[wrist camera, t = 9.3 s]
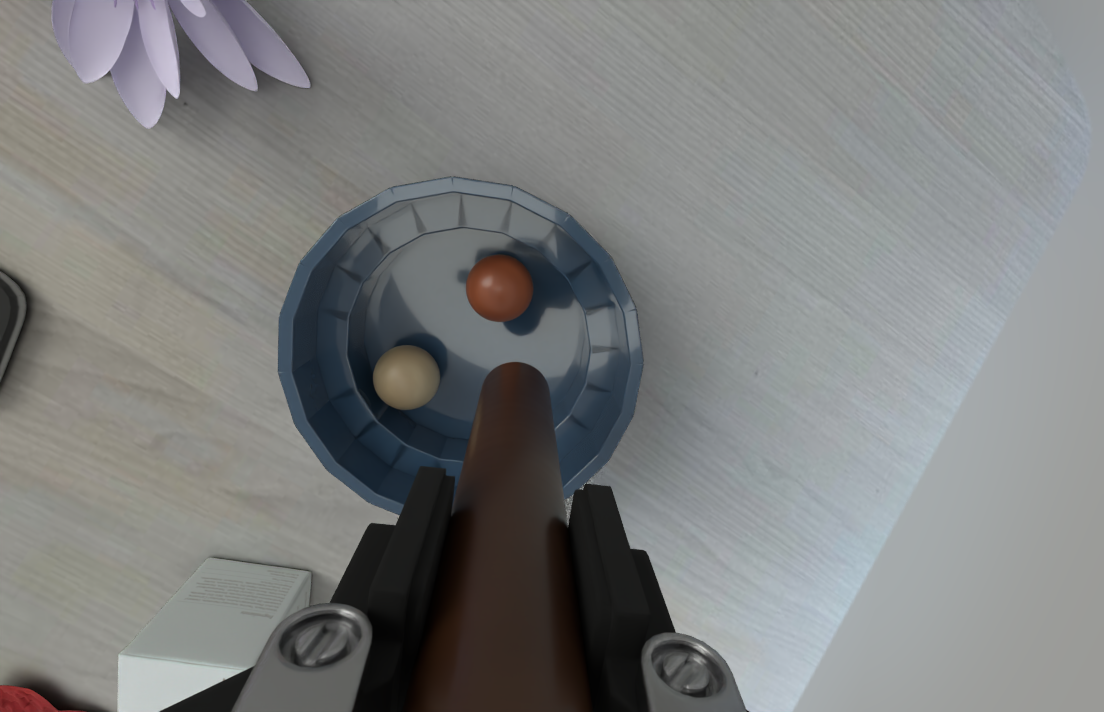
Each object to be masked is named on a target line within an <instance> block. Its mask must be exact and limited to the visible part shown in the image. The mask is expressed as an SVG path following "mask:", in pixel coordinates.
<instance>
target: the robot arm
mask: <svg viewBox="0 0 1104 712" xmlns="http://www.w3.org/2000/svg"><path fill="white" fill-rule="evenodd" d="M454 485H455V476H447V475H446V469H445V468H436V467H427V466H420V468H419V470H418V472H417V475H416V477H415V480H414V482H413V485H412V487H411V489H410V492H409V494H408V497H407V499H406V502H405V504H404V506H403V509H402V511H401V514H400V516H399V519H398V521H397V523H396V525H386V524H376V523H371V524H369V526H368V527H367V529H366V531H365V533H364V535H363V537H362V539H361V541H360V543H359V545H358V547H357V549H356V551H355V553H354V555H353V557H352V559H351V561H350V563H349V565H348V567H347V569H346V571H345V573H344V575H343V577H342V579H341V581H340V583H339V585H338V587H337V589H336V591H335V593H334V595H333V597H332V599H331V601H330V603H326V604H317V605H313V606H310V607H306V608H303V609H301V610H299V611H297V612H295V613H293V614H291V615H289V616H288V617H287V618H285V619H284V620H283V621H282V622H280V623H279V624H278V625H277V627H276V628H275V629H274V631H273V632H272V633H271V635H270V637H269V639H268V641H267V643H266V644H265V646H264V648H263V650H262V652H261V654H260V656H259V658H258V660H257V662H256V664H255V666H253V667H251V668H249V669H247V670H245V671H242V672H240V673H238V674H236V675H234V676H232V677H230V678H228V679H226V680H224V681H222V682H219V683H217V684H215V685H213V686H211V687H209V688H207V689H205V690H203V691H201V692H199V693H197V694H194V695H192V696H190V697H188V698H186V699H184V700H182V701H180V702H178V703H176V704H174V705H172V706H169V707H167V708H165V709H163V710H161V711H159V712H402V710H403V706H404V702H405V698H406V694H407V690H408V686H409V681H410V677H411V673H412V670H413V667H414V664H415V662H416V660H417V655H418V651H419V647H420V643H421V639H422V635H423V631H424V626H425V622H426V618H427V614H428V610H429V606H430V602H431V598H432V593H433V589H434V585H435V581H436V577H437V573H438V569H439V564H440V560H441V556H442V552H443V548H444V544H445V540H446V536H447V531H448V527H449V523H450V519H451V512H452V503H453V494H454ZM568 532H569V539H570V547H571V554H572V561H573V569H574V576H575V584H576V591H577V598H578V606H579V613H580V620H581V628H582V635H583V642H584V650H585V657H586V665H587V672H588V677H589V684H590V692H591V699H592V706H593V712H749V711H747V710H746V708H745V706H744V703H743V700H742V698H741V695H740V692H739V690H738V687H737V685H736V682H735V679H734V677H733V674H732V672H731V670H730V668H729V666H728V665H727V663H726V661H725V660H724V659H723V658H722V657H721V656H720V655H719V654H718V652H717V651H716V650H714V649H713V648H711V647H710V646H709V645H707V644H706V643H704V642H702V641H700V640H698V639H696V638H694V637H692V636H688V635H684V634H680V633H676V632H675V629H674V626H673V623H672V621H671V618H670V615H669V612H668V609H667V607H666V604H665V601H664V598H663V595H662V593H661V590H660V587H659V584H658V581H657V579H656V576H655V573H654V570H653V567H652V565H651V562H650V559H649V556H648V554H647V552H646V551H644V550H637V549H630V546H629V543H628V540H627V537H626V533H625V530H624V527H623V524H622V521H621V517H620V514H619V511H618V508H617V504H616V501H615V498H614V495H613V492H612V488H611V487H610V486H602V485H592V484H585V485H584V489H583V490H577V489H576V490H575V492H574V496H573V502H572V508H571V514H570V519H569V525H568Z"/></svg>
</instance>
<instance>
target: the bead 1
mask: <svg viewBox="0 0 1104 712" xmlns="http://www.w3.org/2000/svg"><path fill="white" fill-rule="evenodd" d="M439 383H440V371H439V367H438V365H437V363H436V361H435V359H434V358H433V357H432V356H431V355H430V354H429V353H428V352H427V351H425V350H424V349H422V348H419V347H416V346H412V345H402V346H397V347H394V348H392V349H390V350H388V351H387V352H385V353H384V354H383V355H382V356H381V357H380V359H379V360H378V362H377V363H376V366H375V368H374V372H373V384H374V387H375V390H376V392H377V394H378V396H379V397H380V398H381V399H382V400H383V401H384V402H385V403H386V404H388V405H389V406H391V407H393V408H396V409H400V410H412V409H416V408H419V407H421V406H423V405H425V404H426V403H428V402H429V401H430V400H431V399H432V398H433V397H434V395H435V394H436V392H437V390H438V387H439Z"/></svg>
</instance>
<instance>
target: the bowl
mask: <svg viewBox="0 0 1104 712" xmlns="http://www.w3.org/2000/svg"><path fill="white" fill-rule="evenodd" d="M498 254H501V255H508V256H511V257H513V258H515V259H517V260H518V261H520V262H521V263H522V264H523V265H524V266H525V267H526V268H527V270H528V271H529V273H530V275H531V278H532V281H533V296H532V299H531V302H530V304H529V306H528V308H527V309H526V310H525V311H524V312H523V313H522V314H521V315H520V316H518V317H517V318H515V319H513V320H510V321H506V322H494V321H490V320H487V319H485V318H483V317H481V316H480V315H479V314H478V313H476V312H475V310H474V309H473V308H472V307H471V305H470V303H469V301H468V298H467V294H466V281H467V278H468V275H469V273H470V271H471V269H472V268H473V267H474V265H475V264H476V263H477V262H479V261H480V260H481V259H483V258H485V257H488V256H491V255H498ZM402 345H412V346H416V347H419V348H422V349H424V350H425V351H427V352H428V353H429V354H430V355H431V356H432V357H433V358H434V359H435V361H436V363H437V365H438V367H439V371H440V383H439V387H438V390H437V392H436V394H435V395H434V397H433V398H432V399H431V400H430V401H429V402H428V403H426V404H425V405H423V406H421V407H419V408H416V409H412V410H400V409H396V408H393V407H391V406H389V405H388V404H386V403H385V402H384V401H383V400H382V399H381V398H380V397H379V396H378V394H377V392H376V390H375V387H374V384H373V372H374V368H375V366H376V363H377V362H378V360H379V359H380V357H381V356H382V355H383V354H384V353H385V352H387V351H388V350H390V349H392V348H394V347H397V346H402ZM508 362H522V363H526V364H529V365H531V366H533V367H535V368H536V369H537V370H539V371H540V372H541V373H542V375H543V376H544V377H545V379H546V381H547V383H548V386H549V392H550V399H551V406H552V414H553V421H554V428H555V436H556V443H557V450H558V458H559V465H560V472H561V480H562V487H563V494H564V500H565V499H567V498H569V497H570V496H572V495H573V494H574V492H575V490H576V489H577V490H578V489H579V488H580V487H582V486H583V485H584V484H585V483H586V482H587V481H588V480H589V479H590V478H591V477H592V476H593V475H594V474H595V473H596V472H598V471H599V470H600V469H601V468H602V467H603V466H604V465H605V464H606V463H607V462H608V461H609V459H610V458H611V456H612V454H613V452H614V450H615V449H616V447H617V445H618V443H619V441H620V440H621V438H622V436H623V434H624V433H625V431H626V429H627V427H628V425H629V424H630V422H631V420H632V418H633V415H634V412H635V407H636V402H637V396H638V391H639V386H640V381H641V376H642V371H643V365H644V364H643V362H644V360H643V352H642V345H641V337H640V330H639V322H638V314H637V309H636V306H635V304H634V302H633V300H632V298H631V296H630V294H629V292H628V290H627V288H626V285H625V283H624V281H623V279H622V277H621V275H620V273H619V271H618V269H617V267H616V265H615V263H614V261H613V259H612V258H611V256H610V255H609V254H608V253H607V252H606V251H605V250H604V249H603V248H602V247H601V246H600V245H599V244H598V243H597V242H596V241H595V240H594V239H593V237H592V236H591V235H590V234H589V233H588V232H587V231H586V230H585V229H584V228H583V227H582V226H581V225H580V224H579V223H578V222H577V221H576V220H575V219H574V218H573V217H572V216H571V215H568V213H567V212H565V211H563V210H561V209H559V208H557V207H555V206H553V205H551V204H549V203H547V202H545V201H543V200H541V199H539V198H537V197H535V196H533V195H531V194H530V193H528V192H526V191H524V190H522V189H520V188H518V187H516V186H513V185H507V184H500V183H494V182H487V181H481V180H474V179H468V178H461V177H451V176H450V177H445V178H439V179H433V180H428V181H422V182H417V183H411V184H405V185H400V186H394V187H391V188H388V189H387V190H385V191H383V192H381V193H380V194H378V195H376V196H374V197H373V198H371V199H369V200H367V201H365V202H364V203H362V204H360V205H358V206H357V207H355V208H353V209H351V210H350V211H348V212H346V213H344V214H342V215H341V216H339V218H337V219H336V220H335V221H334V222H333V223H332V225H331V226H330V227H329V228H328V229H327V230H326V232H325V233H324V234H323V235H322V236H321V237H320V239H319V240H318V241H317V242H316V243H315V244H314V246H313V247H312V248H311V249H310V250H309V251H308V252H307V254H306V255H305V256H304V257H303V258H302V259H301V261H300V263H299V264H298V267H297V270H296V272H295V275H294V278H293V280H292V283H291V286H290V288H289V291H288V293H287V296H286V299H285V301H284V304H283V307H282V309H281V312H280V316H279V337H278V374H279V377H280V381H281V384H282V387H283V390H284V393H285V396H286V399H287V403H288V406H289V409H290V412H291V415H292V418H293V421H294V424H295V426H296V428H297V429H298V431H299V432H300V433H301V435H302V436H303V438H304V439H305V440H306V442H307V443H308V445H309V446H310V448H311V449H312V450H313V452H314V453H315V455H316V456H317V457H318V459H319V460H320V462H321V463H322V464H323V466H324V467H325V469H326V470H327V471H328V472H330V473H331V474H332V475H333V476H335V477H336V478H337V479H339V480H340V481H341V482H342V483H344V484H345V485H346V486H348V487H349V488H350V489H351V490H353V491H354V492H355V493H357V494H358V495H359V496H361V497H362V498H363V499H364V500H366V501H367V502H368V503H371V504H373V505H375V506H378V507H380V508H383V509H385V510H388V511H390V512H393V513H395V514H398V515H400V514H401V511H402V509H403V506H404V504H405V502H406V499H407V497H408V494H409V492H410V489H411V487H412V485H413V482H414V480H415V477H416V475H417V472H418V470H419V468H420V466H427V467H436V468H445V469H446V475H447V476H455V485H454V494H453V502H454V498H455V494H456V490H457V486H458V482H459V478H460V474H461V470H462V466H463V462H464V458H465V453H466V449H467V445H468V441H469V437H470V433H471V429H472V425H473V421H474V417H475V413H476V409H477V405H478V401H479V396H480V392H481V388H482V385H483V382H484V380H485V378H486V377H487V375H488V374H489V373H490V372H491V371H492V370H493V369H494V368H496V367H497V366H499V365H502V364H504V363H508ZM452 506H453V503H452Z"/></svg>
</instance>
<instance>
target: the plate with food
mask: <svg viewBox="0 0 1104 712" xmlns="http://www.w3.org/2000/svg"><path fill="white" fill-rule="evenodd" d="M0 712H85V711H82V710H80V711H73V710H67V711H58V710H57V709H56V708H54V707H53V706H52V705H51V704H50V703H49V702H48V701H47V700H46V699H44V698H43V697H42V696H41V695H39V694H37V693H36V692H34V691H33V690H30V689H27V688H21V687H16V686H8V685H0Z"/></svg>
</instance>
